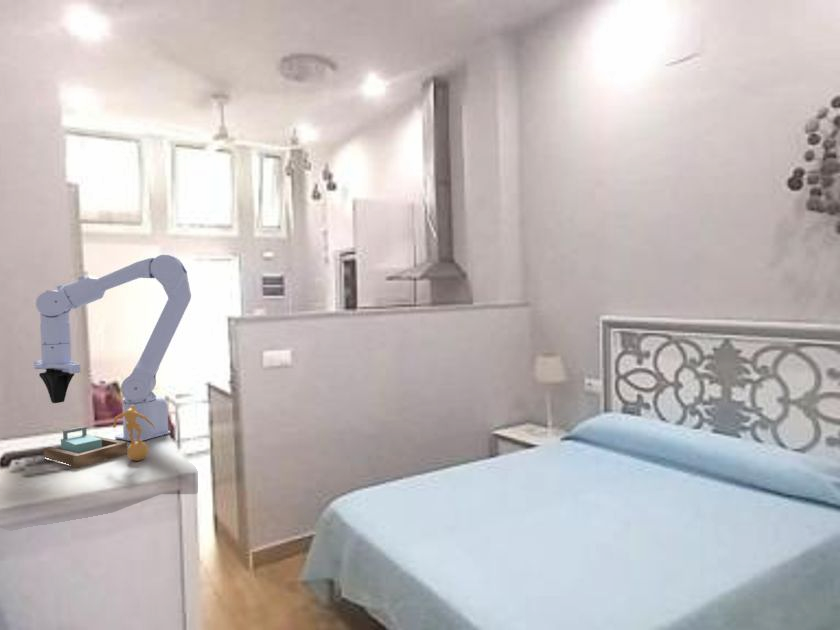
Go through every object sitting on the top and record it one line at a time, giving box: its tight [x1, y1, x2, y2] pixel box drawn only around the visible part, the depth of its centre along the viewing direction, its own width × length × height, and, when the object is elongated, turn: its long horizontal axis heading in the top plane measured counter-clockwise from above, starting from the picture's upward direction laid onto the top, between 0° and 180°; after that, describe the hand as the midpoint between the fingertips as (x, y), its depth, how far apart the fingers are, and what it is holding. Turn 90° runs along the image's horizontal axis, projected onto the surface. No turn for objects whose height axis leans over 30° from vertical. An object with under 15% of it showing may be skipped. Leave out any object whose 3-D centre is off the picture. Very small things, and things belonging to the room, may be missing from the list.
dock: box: [43, 435, 128, 469], centre depth 122 cm, size 11×11×2 cm
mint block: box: [60, 425, 102, 454], centre depth 122 cm, size 5×7×5 cm
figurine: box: [112, 405, 154, 462], centre depth 118 cm, size 8×6×12 cm
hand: (58, 402), depth 132 cm, fingers closed
